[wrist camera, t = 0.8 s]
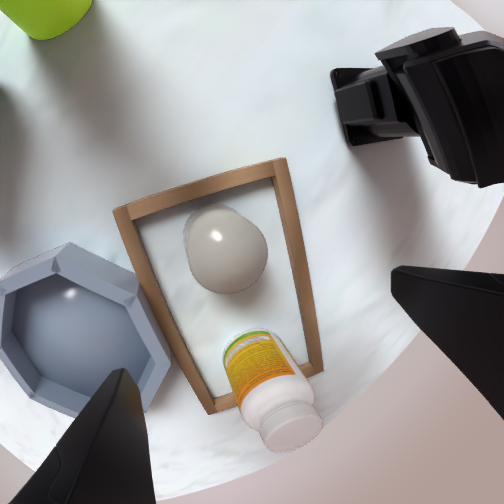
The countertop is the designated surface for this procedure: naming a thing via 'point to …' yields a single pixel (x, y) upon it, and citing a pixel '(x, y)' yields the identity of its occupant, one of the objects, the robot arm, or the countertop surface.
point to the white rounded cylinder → (224, 249)
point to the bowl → (78, 329)
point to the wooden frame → (294, 246)
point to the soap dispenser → (45, 15)
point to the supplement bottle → (271, 390)
